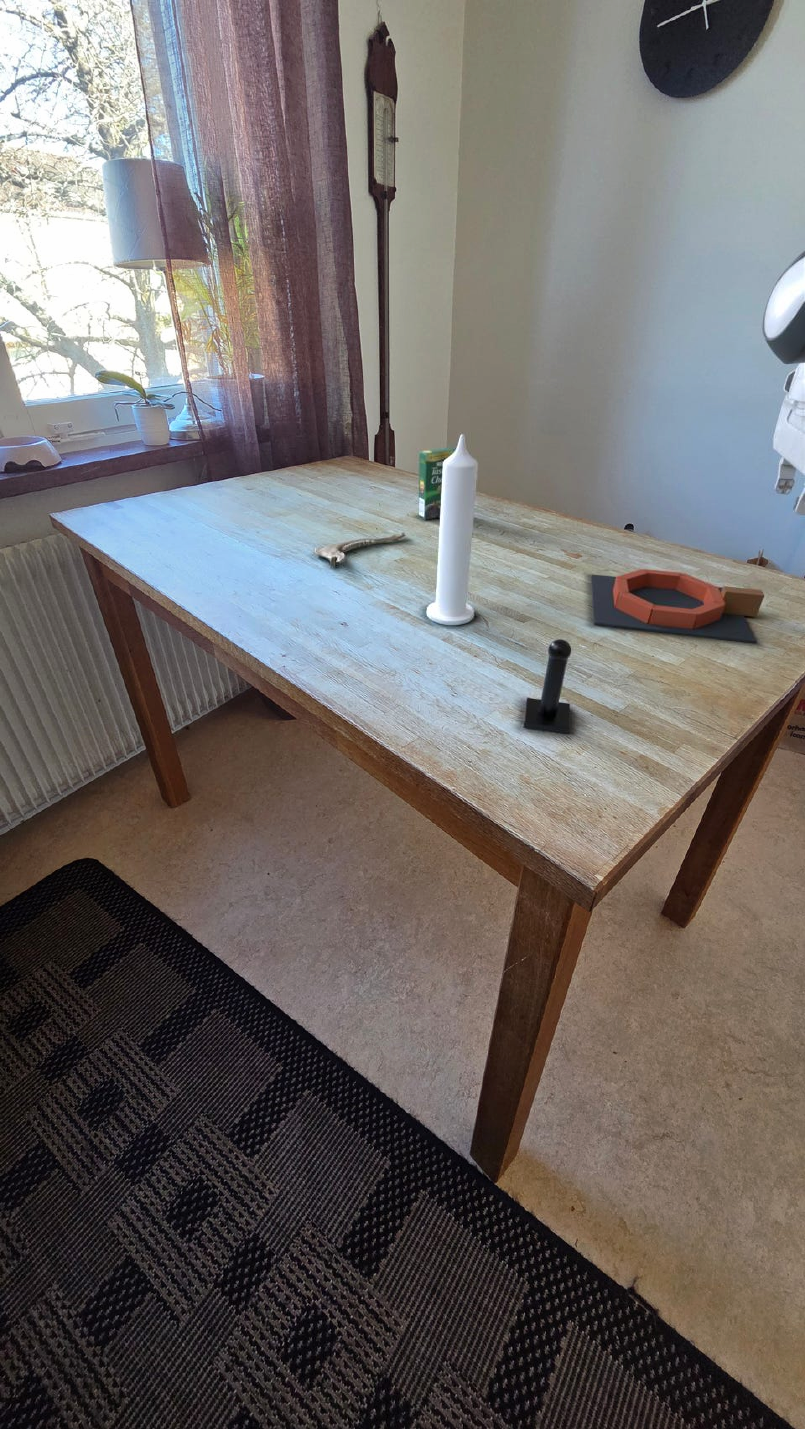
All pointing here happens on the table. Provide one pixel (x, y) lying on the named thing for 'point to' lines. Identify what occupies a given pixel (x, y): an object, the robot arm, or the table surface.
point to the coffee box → (431, 481)
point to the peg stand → (551, 694)
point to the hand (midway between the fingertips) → (790, 502)
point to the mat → (610, 616)
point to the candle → (455, 538)
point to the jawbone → (350, 547)
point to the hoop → (714, 601)
